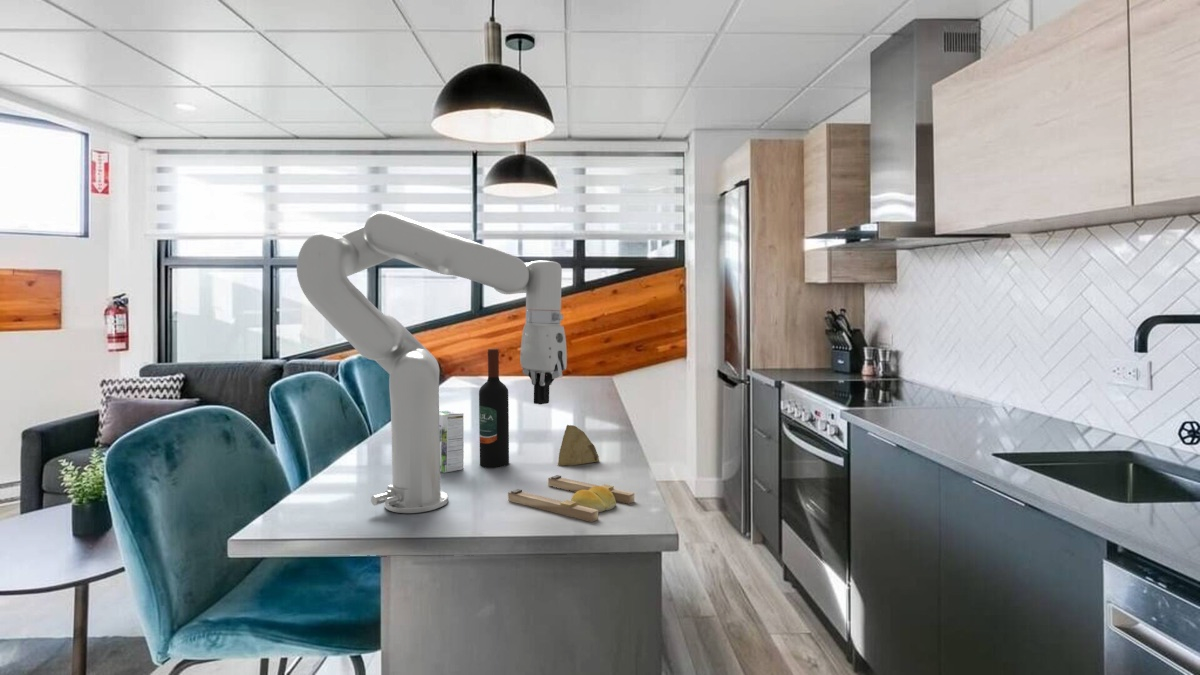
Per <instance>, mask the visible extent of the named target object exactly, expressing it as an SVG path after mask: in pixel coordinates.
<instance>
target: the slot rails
mask: <svg viewBox="0 0 1200 675" xmlns="http://www.w3.org/2000/svg"><path fill="white" fill-rule="evenodd" d="M547 481H548V482H547V483H548V485H549V486H548V485H547V486H548V487H551V486H553V487H552V488H556V487H557V489H560V488H561V490H566V491H569V490H570V491H569V492H573V491H574V492H573V493H576V492H577V491H579V490H589V489H590V488H592V487H595V486H600V485H597V484H593V483H589V482H585V481H584V482H583V481H579V480H574V479H570V478H569V479H568V478H563V477H562V475H559V474H555V475H554V476H550V477H548V480H547ZM601 486H602V487H605V488H607V489H609V490H610V491H611V492H612V493H613V495H614V497H615V501H616V502H619V503H623V504H628V505H631V504H632V503H634V502H635V492H633V491H632V492H631V491H626V490H621V489H617V488H615V487H614V485H610V484H605V483H604V484H602V485H601ZM507 494H508V495H507V497H508V498H507V499H508V500H507V501H508V502H513V503H515V504H519V505H524V506H527V507H531V508H534V509H540V510H542V511H548V512H551V513H555V514H558V515H563V516H567V517H571V518H574V519H579V520H582V521H586V522H589V523H593V522H596V521H598V520H599V512H598V510H596V509H592V508H588V507H584V506H579V505H577V502H573V501H571V500H569V499H566V500H564V501H562V500H559V499H553V498H551V497H546V496H542V495H537V494H535V493H534V494H533V493H528V492H525V491H523V489H520V488H516V489H513V490H510V491H509V492H508V493H507Z"/></svg>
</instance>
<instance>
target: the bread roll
mask: <svg viewBox="0 0 1200 675" xmlns="http://www.w3.org/2000/svg"><path fill="white" fill-rule="evenodd" d="M570 501H573V502H577V505H579V506H584V507H588V508H592V509H596V510H598V513H602V512H604V511H610V510H613V509H614V508H615V506H616V505H617V501H615V497H614V495H613V493H612V492H611V491H610V490H609V489H607V488H605V487H602V485H599V486H595V487H592V488H590V489H589V490H579V491H577V492H574V493H573V495H572V496H571V500H570Z"/></svg>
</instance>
